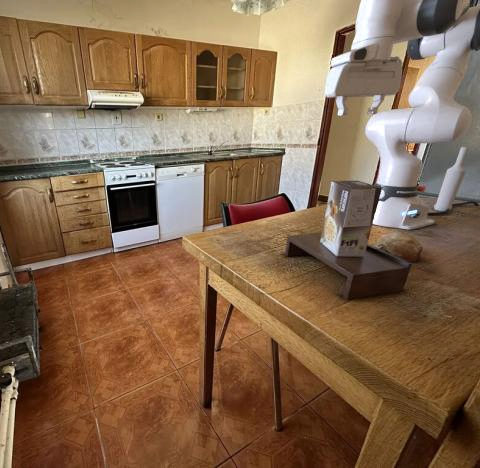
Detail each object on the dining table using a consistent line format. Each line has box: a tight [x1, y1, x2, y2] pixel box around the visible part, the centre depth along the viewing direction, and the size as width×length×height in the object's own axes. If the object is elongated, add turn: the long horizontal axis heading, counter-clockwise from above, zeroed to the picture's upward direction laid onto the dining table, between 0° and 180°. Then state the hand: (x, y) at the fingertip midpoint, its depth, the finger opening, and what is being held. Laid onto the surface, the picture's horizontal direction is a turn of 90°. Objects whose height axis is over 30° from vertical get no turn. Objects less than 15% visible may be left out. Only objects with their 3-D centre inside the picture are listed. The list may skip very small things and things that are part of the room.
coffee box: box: [320, 180, 382, 257], centre depth 60 cm, size 9×6×16 cm
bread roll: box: [374, 232, 423, 263], centre depth 71 cm, size 10×10×8 cm
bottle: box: [433, 146, 470, 212], centre depth 103 cm, size 5×5×25 cm
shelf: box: [284, 231, 413, 300], centre depth 64 cm, size 14×22×7 cm, turn 10°
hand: (357, 115), depth 71 cm, fingers open, 8 cm apart
